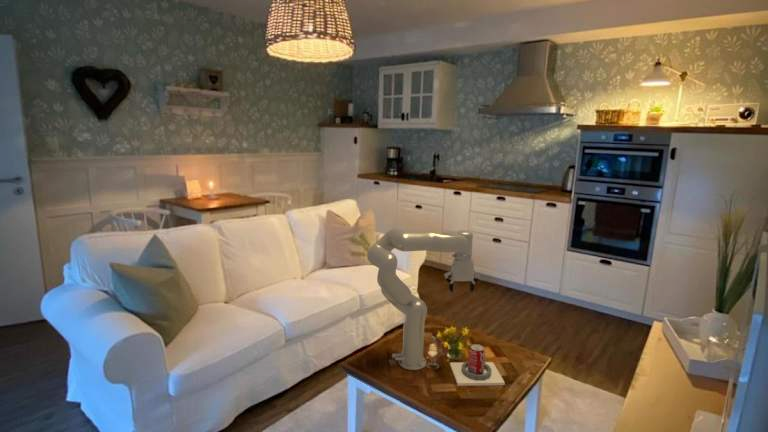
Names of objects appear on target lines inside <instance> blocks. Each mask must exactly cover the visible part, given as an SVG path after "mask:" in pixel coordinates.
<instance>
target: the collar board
mask: <svg viewBox="0 0 768 432" xmlns="http://www.w3.org/2000/svg"><path fill="white" fill-rule="evenodd" d="M449 366H450V370H451V372H452V374H453V378H454V380H455V382H456V384H457V386H458V387H460V386H461V387H463V386H469V387H470V386H472V387H474V386H476V387H477V386H479V387H480V386H482V387H483V386H505V381H504V378H503V376H502V375H501V373H500V372H499V370H498V369H497V367H496V365H495V363H494V362H493V361H485V365H484V373H483V374H481V375H476V374H473V373H470V372H469V371H468V360H467V361H463V362H449Z"/></svg>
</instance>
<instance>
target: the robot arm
mask: <svg viewBox="0 0 768 432" xmlns="http://www.w3.org/2000/svg"><path fill="white" fill-rule="evenodd" d="M473 237H474V236H473V233H472V231H471V230H464V229H463V230H458V231H457V230H455V231H454V230H446V231H444V232H442V233H441V234H439V233H437V232H433V231H427V230H426V231H424V230H422V231H420V230H419V231H405V230H402V229H399V228H397V227H396V228H395V227H394V228H391V229H389V230H388V231H387V232H385V234H383V235H382V237H380V238H379V239H378V240H377V241H376V242H374V244H373V245H372V246H371V247H370V248H369V250H368V251H367V260H368V262H369V263H370V264H371V265H373V266H374V267H376V268H378V271H377V276H376V278H377V279H376V281H377V284H378V286H379V287H380V291H381V294H382V295H383V297H384V298H385V299H386V300H387V301H388V302H389V303H390V304H392V305H391V306H394V308H396V310H398V311H399V312H401V313H402V314H403V315H405V320H404V322H403V325H402V350H401V352H399V353H392V355H391V358H392V359H394V360H395V361H398V365H400V367H402V368H403V369H405V370H410V371H418V370H422V369H424V368H425V367H426V365H427V360H426V358H425V357H424V343H425V342H424V341H425V323H426V317H427V313H428V308H427V305H426V303H425V301H423V300H422V299H421V298H419V297H418V296H416V295H414V294H412V291H411V289H410V287H409V286H408V285H407V284H406V283H404V282H403V280H402V279H400V277H399V276H398V274H397V267H398V258H397V256H396V255H395V254H394V253H393V252H392V251H394V249H396V250H398V251H399V252H423V251H424V252H437V253H448V254H449V253H450V254H451V253H453V254H452V255H451V257H452V258H453V260H452V266H451V270H450V271H447V272H445V273H444V274H443V276H444V278H445V280H446V281H447V282H448V283H449V285H448V289H449V291H450V292H451V293H453V291H454V282H470V283H469V291H470V292H471V293H474V290H475V284H476V283H477V282H478V281H479V279H480V277H481V276H482V275H481V274H480V273H479V272H476V271H475V268H474V267H475V266H474V259H473V258H472V255H473V254H472V253H473ZM449 276H450V278H449Z"/></svg>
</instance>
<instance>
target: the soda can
mask: <svg viewBox="0 0 768 432" xmlns="http://www.w3.org/2000/svg"><path fill="white" fill-rule="evenodd" d="M467 357H468V359H467V361H468V371H469V372H470V373H473V374H476V375H481V374H483V373H484V365H485V362H486V350H485V347H484V346H483V345H482V344H479V343H475V344H474V343H473V344H471V345H470V348H469V349H468V355H467Z"/></svg>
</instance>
